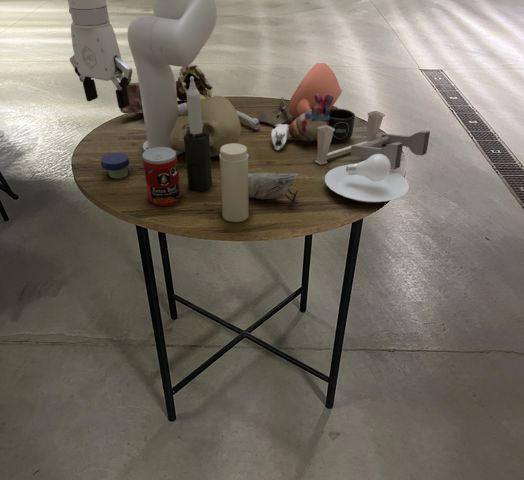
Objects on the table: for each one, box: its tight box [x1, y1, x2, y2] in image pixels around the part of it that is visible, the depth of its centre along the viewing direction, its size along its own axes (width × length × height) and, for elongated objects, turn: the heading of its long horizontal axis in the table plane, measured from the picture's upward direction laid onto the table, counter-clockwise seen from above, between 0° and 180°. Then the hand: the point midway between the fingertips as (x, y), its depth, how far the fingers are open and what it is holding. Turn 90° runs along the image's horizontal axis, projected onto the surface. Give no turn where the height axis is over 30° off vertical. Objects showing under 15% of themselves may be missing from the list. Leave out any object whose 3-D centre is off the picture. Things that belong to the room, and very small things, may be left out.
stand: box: [107, 167, 129, 179], centre depth 124 cm, size 5×5×4 cm
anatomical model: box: [288, 94, 333, 143], centre depth 137 cm, size 10×9×15 cm
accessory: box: [287, 136, 318, 147], centre depth 143 cm, size 9×9×1 cm
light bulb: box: [178, 95, 205, 117], centre depth 154 cm, size 6×6×10 cm
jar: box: [218, 143, 250, 223], centre depth 106 cm, size 6×6×15 cm
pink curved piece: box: [287, 62, 343, 119], centre depth 149 cm, size 25×17×13 cm
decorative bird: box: [249, 172, 300, 205], centre depth 114 cm, size 5×16×8 cm, turn 77°
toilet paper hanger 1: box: [314, 110, 386, 166], centre depth 133 cm, size 23×9×4 cm
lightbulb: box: [346, 154, 392, 181], centre depth 118 cm, size 6×6×11 cm
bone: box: [235, 109, 261, 131], centre depth 151 cm, size 18×5×4 cm
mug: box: [328, 108, 356, 143], centre depth 143 cm, size 12×9×7 cm
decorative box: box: [119, 82, 143, 115], centre depth 153 cm, size 13×20×10 cm
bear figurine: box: [175, 64, 214, 103], centre depth 164 cm, size 14×15×12 cm
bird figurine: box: [270, 123, 290, 151], centre depth 140 cm, size 5×7×10 cm
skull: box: [170, 95, 242, 158], centre depth 132 cm, size 14×17×20 cm
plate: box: [324, 164, 410, 204], centre depth 120 cm, size 21×21×2 cm
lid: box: [100, 152, 130, 171], centre depth 122 cm, size 7×7×2 cm
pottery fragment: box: [253, 96, 289, 128], centre depth 155 cm, size 18×11×5 cm, turn 2°
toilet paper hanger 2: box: [350, 130, 431, 171], centre depth 132 cm, size 22×13×6 cm, turn 143°
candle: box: [184, 76, 213, 193], centre depth 112 cm, size 5×5×25 cm
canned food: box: [141, 147, 182, 207], centre depth 112 cm, size 8×8×11 cm
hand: (108, 103), depth 113 cm, fingers open, 9 cm apart
